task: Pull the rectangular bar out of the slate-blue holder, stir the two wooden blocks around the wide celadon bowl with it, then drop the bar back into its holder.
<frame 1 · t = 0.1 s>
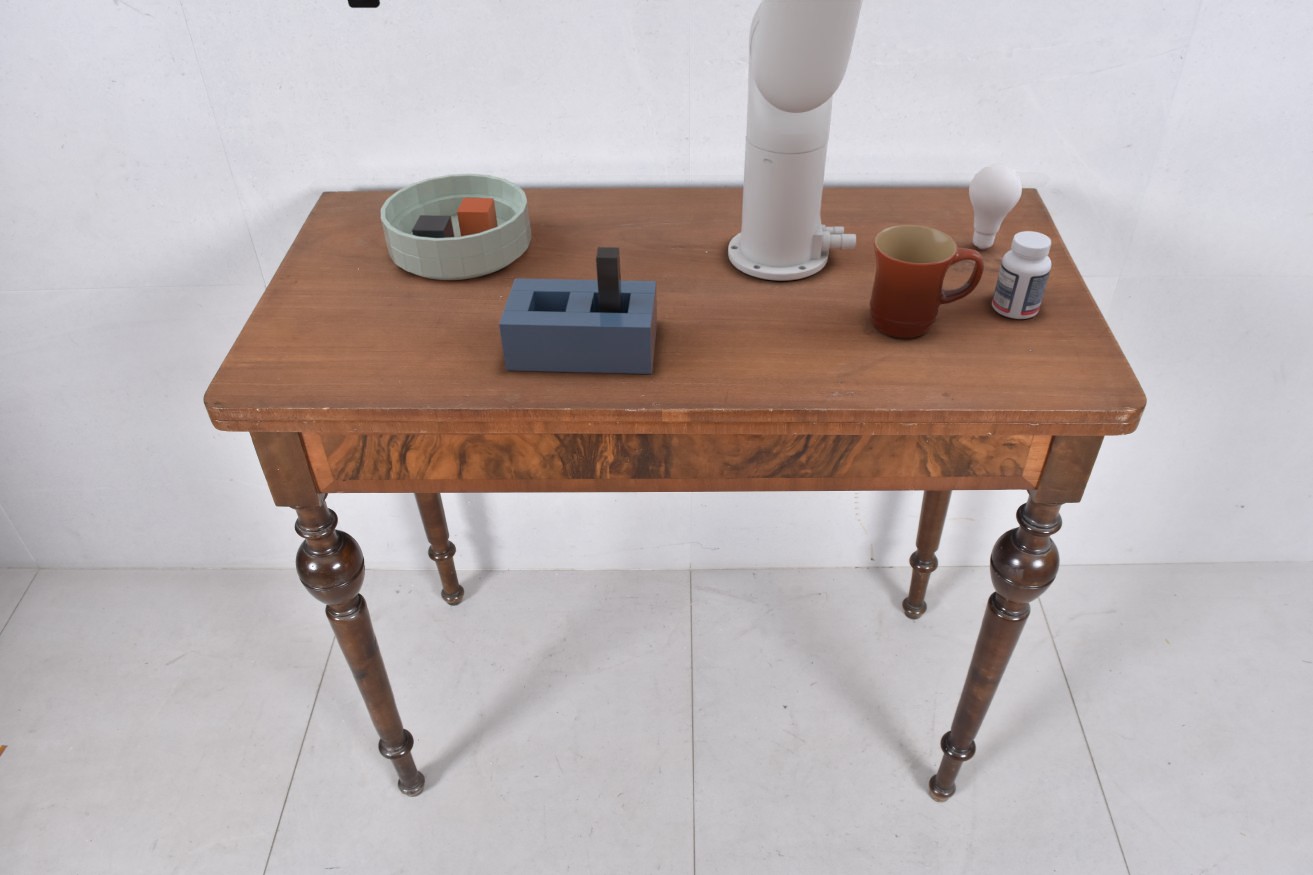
lightbulb: (981, 249, 118), on the table
block a: (479, 233, 122), point 1 cm above the table, touching bowl
bowl: (461, 247, 121), on the table
mug: (914, 326, 105), on the table
holder: (583, 347, 103), on the table
block b: (437, 251, 118), point 1 cm above the table, touching bowl
pill bottle: (1014, 309, 108), on the table
rectangular bar: (613, 348, 103), resting in holder
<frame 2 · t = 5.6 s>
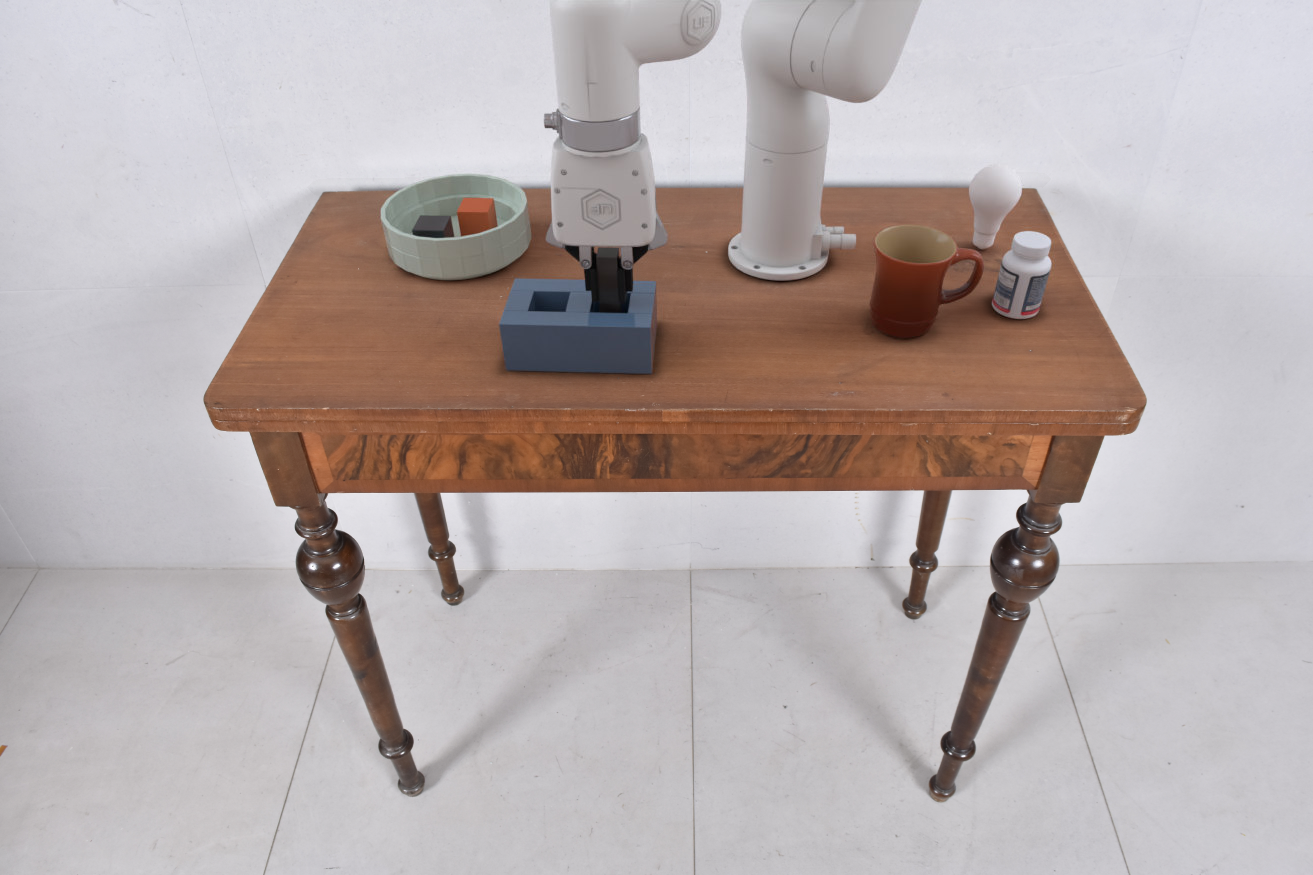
hand: (610, 294, 98), 7 cm above the table, tool pointing down, fingers closed on rectangular bar, 2 cm apart
rectangular bar: (613, 348, 103), resting in holder, touching gripper
everything else where it was.
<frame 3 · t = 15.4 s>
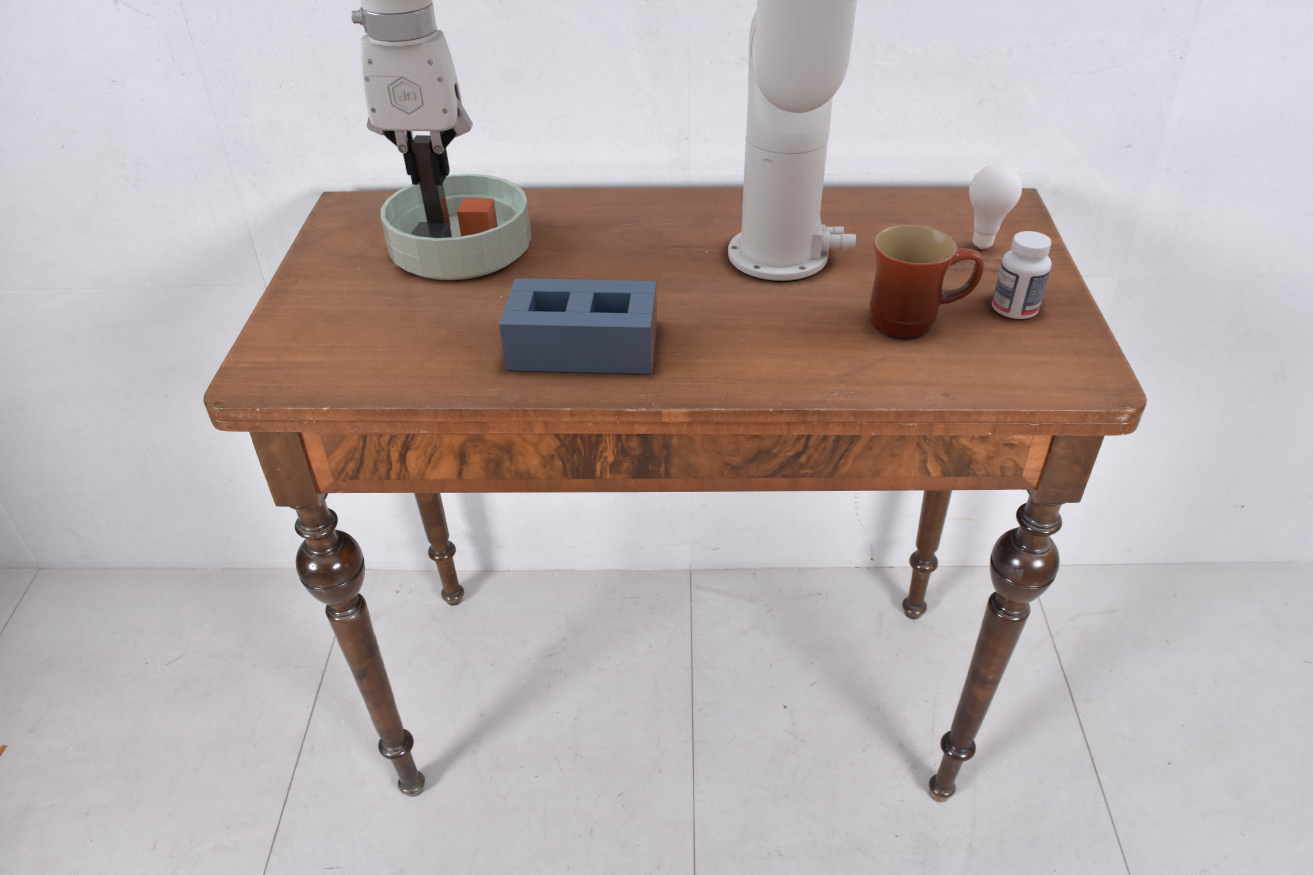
hand: (429, 179, 113), 10 cm above the table, tool pointing down, fingers closed on rectangular bar, 2 cm apart
block b: (434, 258, 117), point 1 cm above the table, touching bowl, rectangular bar
rectangular bar: (440, 229, 118), point 3 cm above the table, touching block b, gripper
everything else where it was.
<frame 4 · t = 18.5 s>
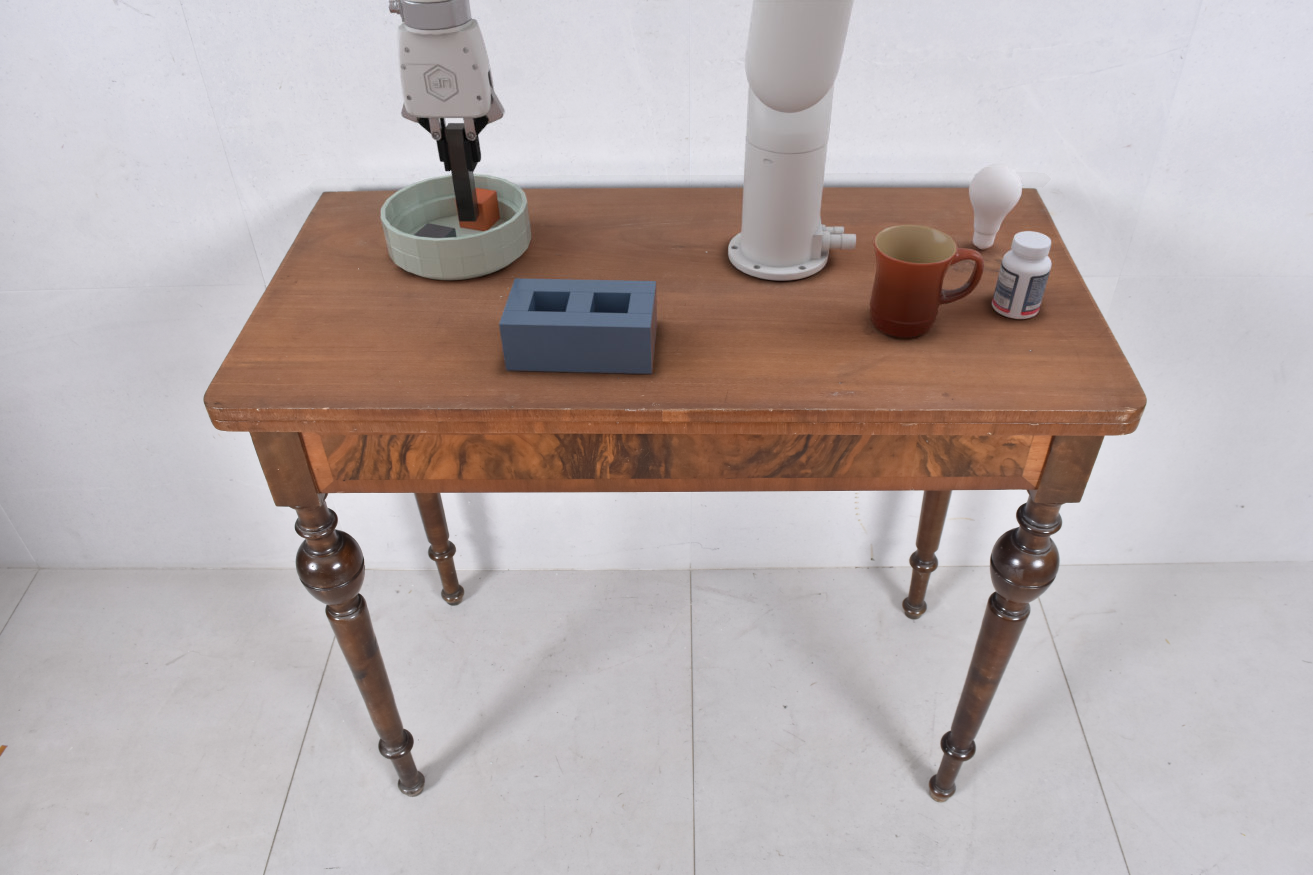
hand: (461, 166, 116), 10 cm above the table, tool pointing down, fingers closed on rectangular bar, 2 cm apart
block a: (480, 223, 124), point 1 cm above the table, touching bowl
block b: (438, 261, 117), point 1 cm above the table, touching bowl
rectangular bar: (469, 218, 120), point 3 cm above the table, touching gripper
everything else where it was.
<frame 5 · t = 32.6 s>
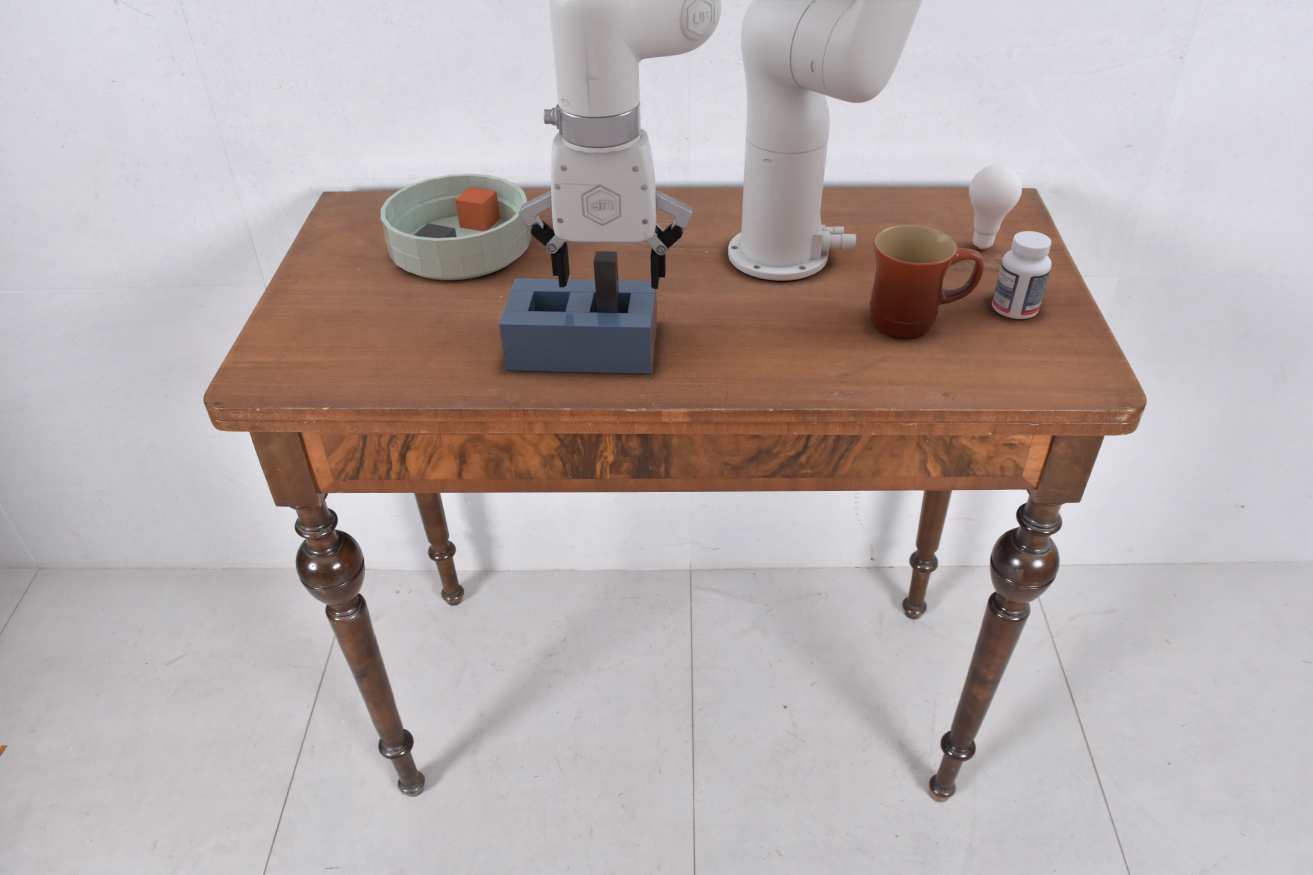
hand: (610, 281, 97), 9 cm above the table, tool pointing down, fingers open, 9 cm apart
rectangular bar: (611, 352, 102), resting in holder
everything else where it was.
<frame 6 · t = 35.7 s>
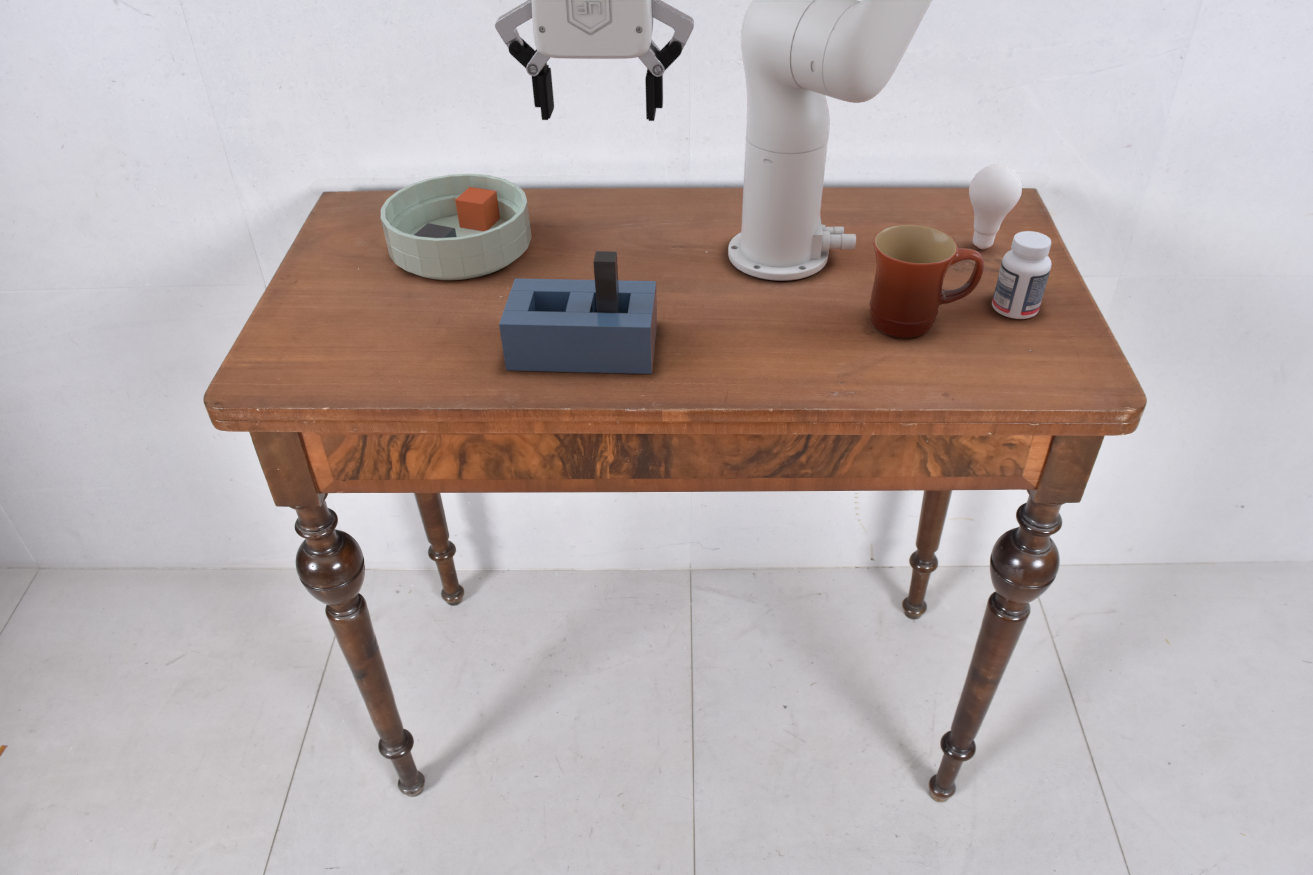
hand: (599, 115, 86), 26 cm above the table, tool pointing down, fingers open, 9 cm apart
nothing on the table moved.
at the end: block a moved 2.8 cm from its start; block a inside the target area in the bowl (5.4 cm from its centre), point 0.8 cm above the bowl's base; rectangular bar 0.8 cm from the target spot in the holder, point 0.0 cm above the holder's base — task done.
